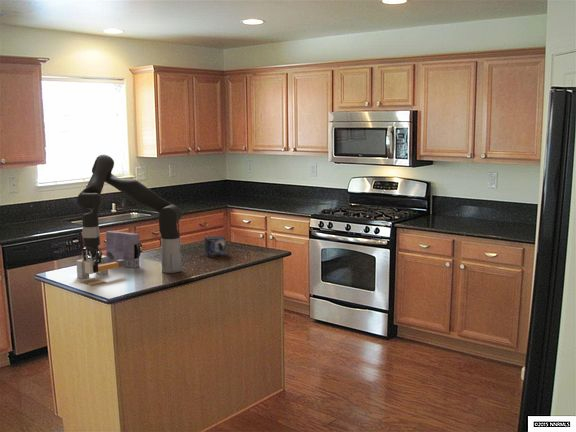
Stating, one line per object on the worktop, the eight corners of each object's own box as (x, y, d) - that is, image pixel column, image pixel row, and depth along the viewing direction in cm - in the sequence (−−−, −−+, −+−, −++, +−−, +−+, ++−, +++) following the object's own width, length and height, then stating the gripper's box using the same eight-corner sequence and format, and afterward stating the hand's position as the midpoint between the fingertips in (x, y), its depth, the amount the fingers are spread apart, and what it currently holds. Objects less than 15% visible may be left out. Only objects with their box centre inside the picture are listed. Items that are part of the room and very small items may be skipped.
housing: (107, 273, 293) (106, 243, 291) (82, 279, 283) (80, 248, 280) (102, 271, 296) (101, 242, 294) (77, 277, 286) (75, 247, 283)
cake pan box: (141, 266, 307) (140, 233, 304) (136, 268, 303) (134, 234, 299) (111, 262, 314) (110, 230, 311) (105, 264, 310) (104, 231, 307)
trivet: (106, 282, 277) (106, 281, 277) (92, 286, 271) (92, 284, 271) (94, 279, 283) (94, 277, 283) (81, 282, 278) (81, 280, 278)
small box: (207, 257, 326) (207, 239, 324) (204, 255, 332) (204, 236, 330) (226, 255, 330) (225, 237, 329) (222, 253, 336) (222, 235, 334)
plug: (120, 264, 290) (119, 253, 289) (125, 266, 287) (125, 255, 286) (85, 272, 276) (84, 261, 275) (90, 274, 273) (89, 262, 272)
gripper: (75, 234, 275) (77, 270, 278) (92, 239, 266) (93, 275, 269) (90, 232, 281) (91, 267, 284) (106, 236, 272) (108, 272, 275)
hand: (92, 271), depth 276 cm, fingers closed on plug, 4 cm apart
